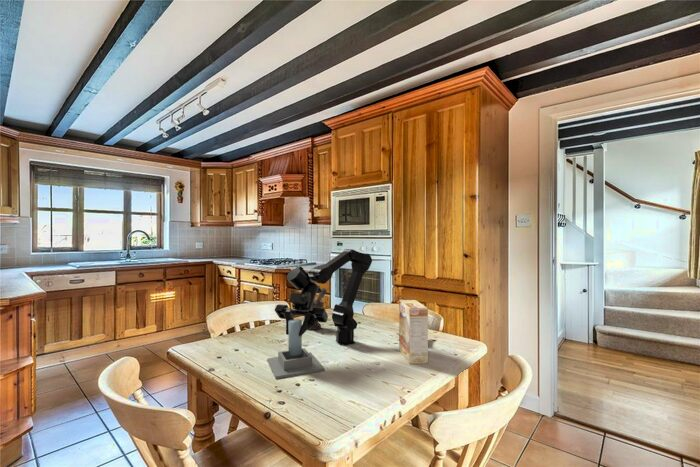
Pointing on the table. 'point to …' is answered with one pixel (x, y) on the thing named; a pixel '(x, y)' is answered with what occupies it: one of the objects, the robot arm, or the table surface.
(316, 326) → the mortar and pestle
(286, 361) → the grey square socket base
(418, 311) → the coffeecake box
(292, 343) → the pale blue rounded cylinder
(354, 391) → the table surface
